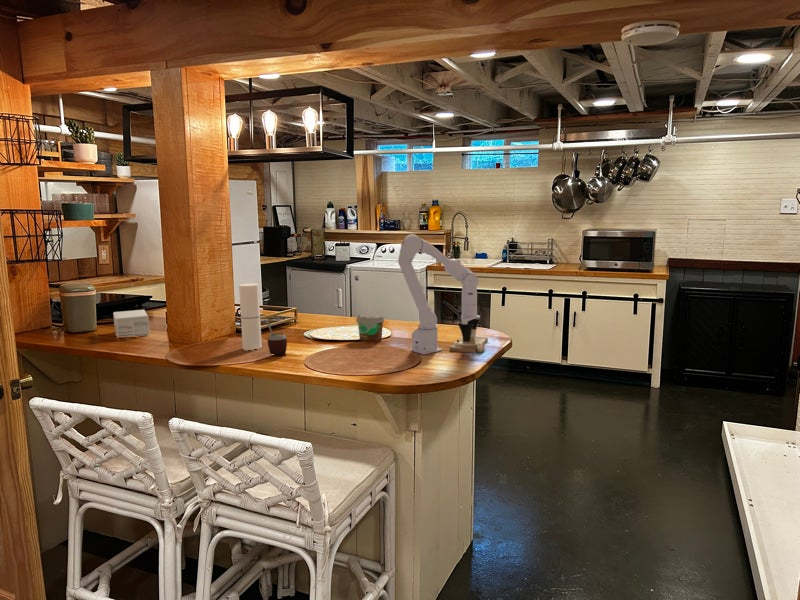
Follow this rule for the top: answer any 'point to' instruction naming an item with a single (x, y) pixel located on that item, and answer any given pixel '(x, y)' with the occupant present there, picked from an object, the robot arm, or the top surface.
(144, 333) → the supplement box
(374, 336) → the food container
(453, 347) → the walnut board
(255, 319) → the cylindrical container
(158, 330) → the top surface
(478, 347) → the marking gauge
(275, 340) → the mate gourd
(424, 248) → the robot arm
